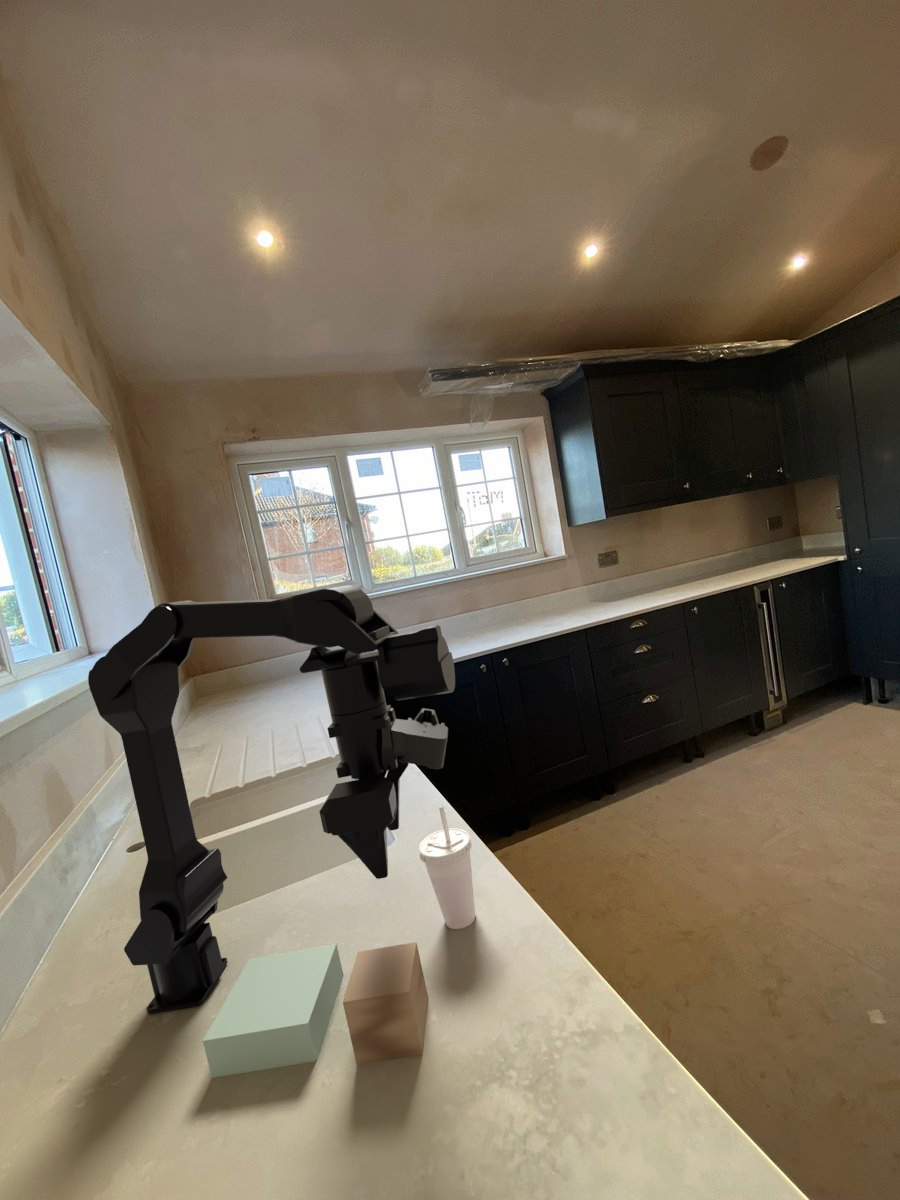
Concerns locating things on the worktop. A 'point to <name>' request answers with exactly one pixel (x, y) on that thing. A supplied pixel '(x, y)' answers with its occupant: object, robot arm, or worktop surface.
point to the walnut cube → (386, 1004)
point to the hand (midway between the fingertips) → (388, 851)
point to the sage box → (275, 1012)
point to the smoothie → (450, 873)
